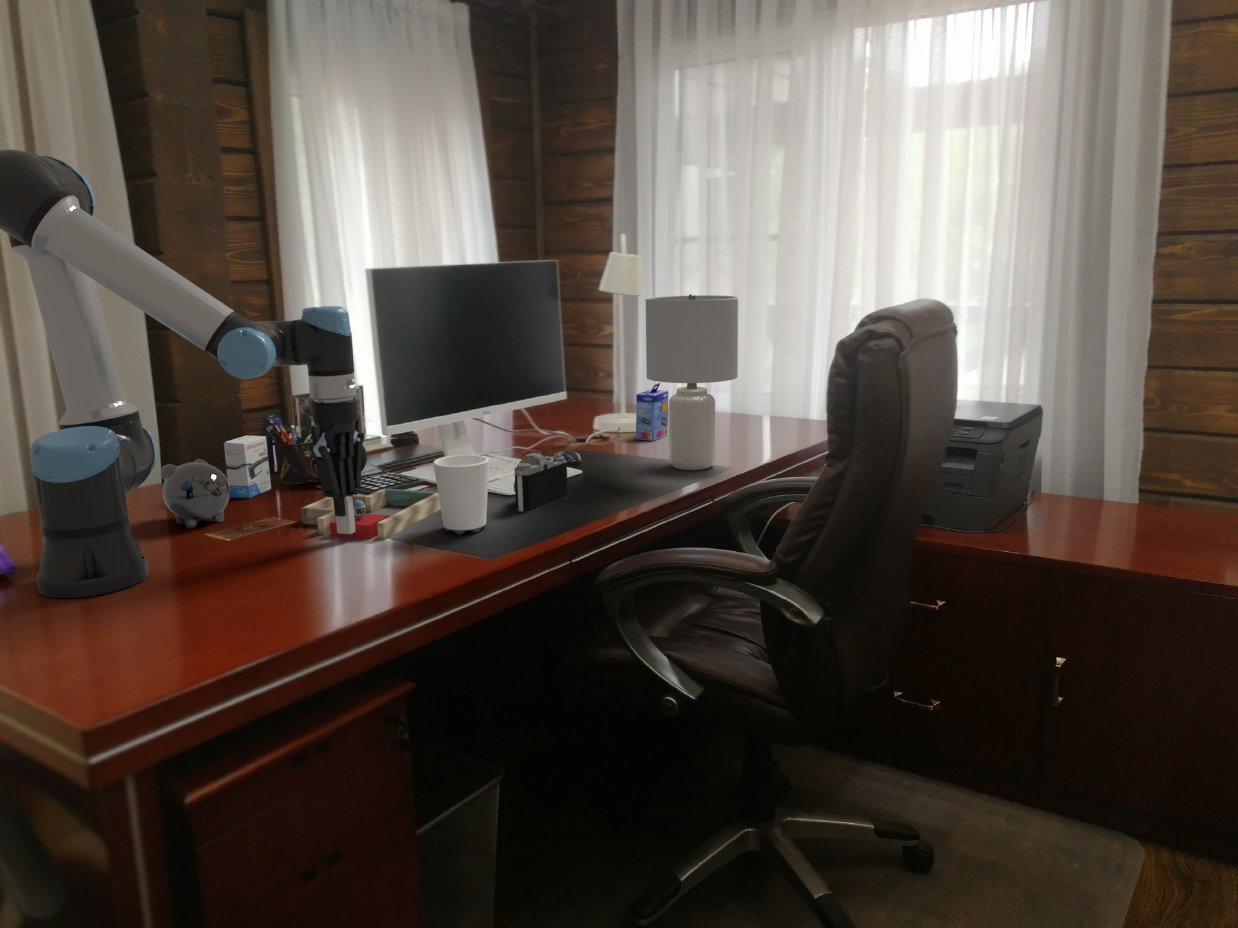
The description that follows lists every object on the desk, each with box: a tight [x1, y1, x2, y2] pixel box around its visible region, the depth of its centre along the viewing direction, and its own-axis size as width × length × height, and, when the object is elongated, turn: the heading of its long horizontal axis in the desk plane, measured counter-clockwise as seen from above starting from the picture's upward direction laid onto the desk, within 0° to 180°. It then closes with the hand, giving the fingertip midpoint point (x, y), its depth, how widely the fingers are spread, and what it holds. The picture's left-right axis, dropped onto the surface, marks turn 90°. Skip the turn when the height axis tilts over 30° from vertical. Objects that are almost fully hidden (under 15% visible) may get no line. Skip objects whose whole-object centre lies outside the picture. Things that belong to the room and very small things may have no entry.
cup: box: [433, 454, 490, 535], centre depth 170 cm, size 10×10×13 cm
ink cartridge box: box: [635, 382, 669, 442], centre depth 249 cm, size 10×6×14 cm, turn 154°
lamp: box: [645, 293, 739, 471], centre depth 212 cm, size 20×20×39 cm
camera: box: [513, 452, 569, 513], centre depth 187 cm, size 15×7×10 cm, turn 148°
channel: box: [300, 488, 441, 541], centre depth 178 cm, size 22×21×3 cm
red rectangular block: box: [329, 500, 390, 540], centre depth 170 cm, size 8×7×6 cm
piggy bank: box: [160, 458, 230, 530], centre depth 178 cm, size 11×15×12 cm
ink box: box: [223, 435, 272, 499], centre depth 199 cm, size 8×5×12 cm, turn 168°
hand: (346, 532), depth 165 cm, fingers closed
